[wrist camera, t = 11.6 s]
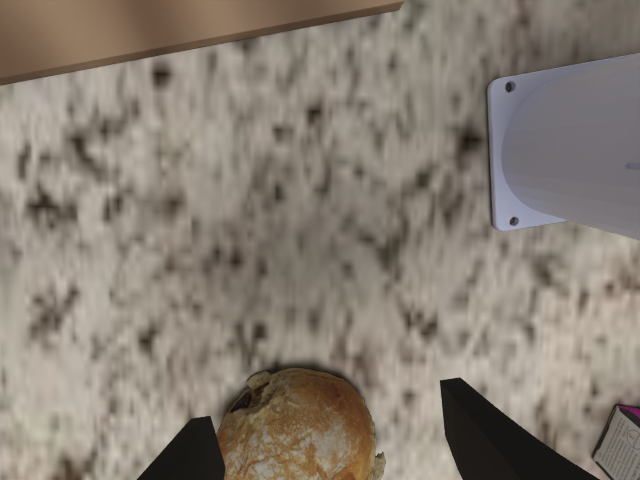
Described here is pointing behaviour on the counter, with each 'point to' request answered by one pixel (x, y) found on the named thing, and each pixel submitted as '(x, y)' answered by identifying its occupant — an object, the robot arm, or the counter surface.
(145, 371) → the counter surface
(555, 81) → the robot arm
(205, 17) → the post board
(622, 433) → the candy bar box
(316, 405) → the bread roll
